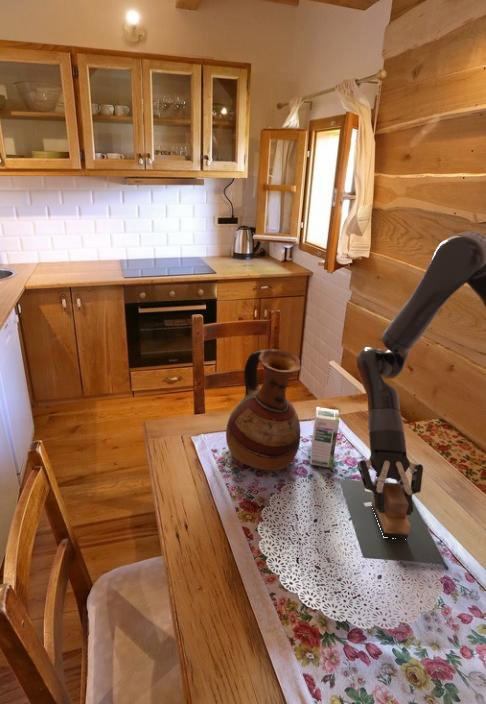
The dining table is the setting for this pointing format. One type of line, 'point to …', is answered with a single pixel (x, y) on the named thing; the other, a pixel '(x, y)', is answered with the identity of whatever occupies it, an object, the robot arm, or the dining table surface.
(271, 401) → the ceramic pitcher
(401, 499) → the eraser
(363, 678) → the dining table surface
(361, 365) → the robot arm
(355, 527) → the slate board
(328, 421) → the syrup box
